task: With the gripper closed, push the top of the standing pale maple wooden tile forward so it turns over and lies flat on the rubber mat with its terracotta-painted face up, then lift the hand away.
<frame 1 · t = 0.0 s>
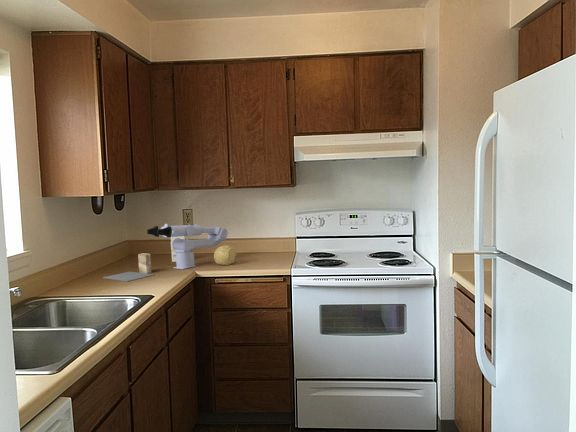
hand: (152, 232, 253), 22 cm above the worktop, tool horizontal, fingers open, 7 cm apart
beige lumpy ball: (225, 264, 275), on the worktop
ink cartridge box: (179, 261, 294), on the worktop
mat: (128, 276, 251), on the worktop
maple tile: (145, 273, 260), on the worktop
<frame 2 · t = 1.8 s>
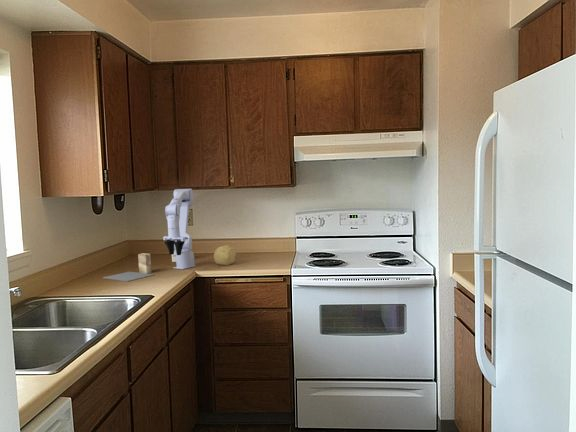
hand: (175, 254, 255), 9 cm above the worktop, tool pointing down, fingers open, 5 cm apart
nothing on the worktop moved.
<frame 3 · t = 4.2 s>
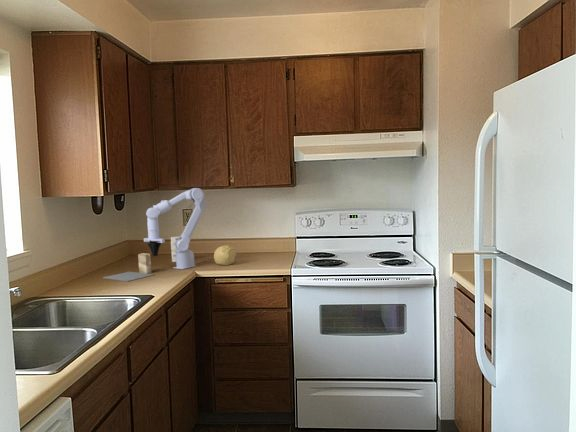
hand: (155, 255, 265), 8 cm above the worktop, tool pointing down, fingers closed
nothing on the worktop moved.
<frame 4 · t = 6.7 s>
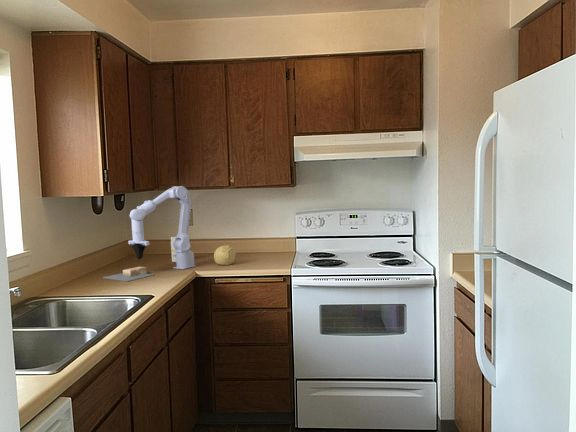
hand: (139, 258, 257), 8 cm above the worktop, tool pointing down, fingers closed
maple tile: (142, 269, 258), point 2 cm above the worktop, tilted 90°, touching mat
everything else where it was.
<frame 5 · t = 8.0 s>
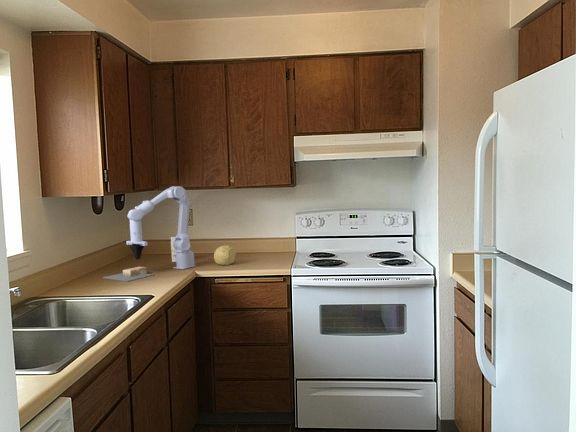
hand: (137, 259, 256), 8 cm above the worktop, tool pointing down, fingers closed
nothing on the worktop moved.
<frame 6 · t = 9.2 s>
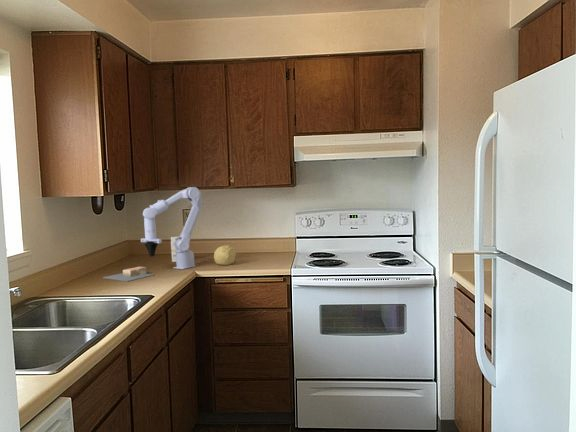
hand: (152, 256, 263), 8 cm above the worktop, tool pointing down, fingers closed
nothing on the worktop moved.
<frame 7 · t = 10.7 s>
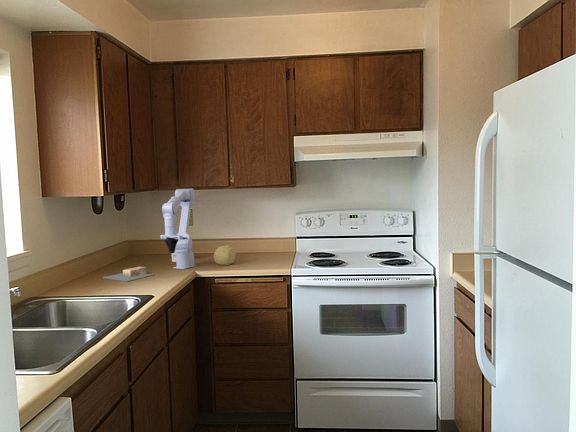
hand: (172, 253, 255), 10 cm above the worktop, tool pointing down, fingers closed
nothing on the worktop moved.
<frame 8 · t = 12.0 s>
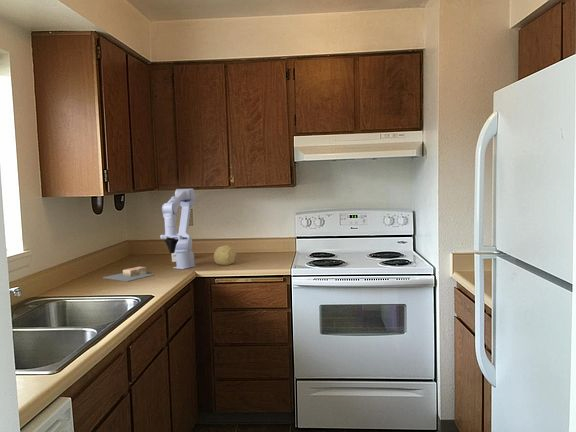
hand: (172, 253, 255), 10 cm above the worktop, tool pointing down, fingers closed
nothing on the worktop moved.
at the end: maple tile tilted 90°; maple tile touching mat; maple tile inside the target area (4.1 cm from its centre), point 1.9 cm above the worktop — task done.
